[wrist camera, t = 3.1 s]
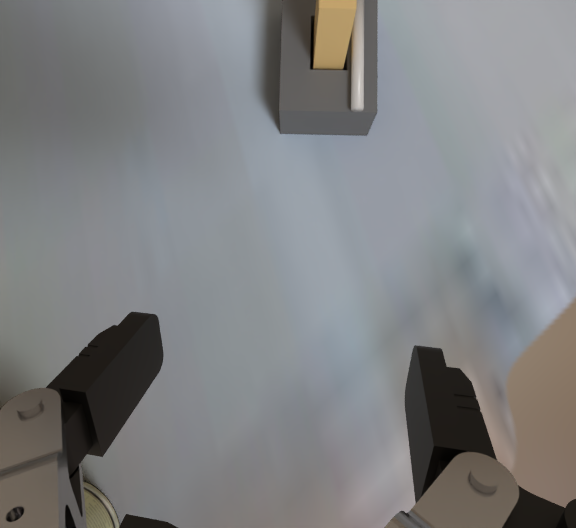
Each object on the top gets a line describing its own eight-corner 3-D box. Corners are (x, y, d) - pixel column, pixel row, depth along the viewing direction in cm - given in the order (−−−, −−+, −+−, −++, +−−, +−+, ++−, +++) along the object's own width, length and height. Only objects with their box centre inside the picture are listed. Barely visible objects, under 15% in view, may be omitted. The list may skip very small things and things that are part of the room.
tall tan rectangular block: (339, 88, 37) (356, 8, 28) (311, 87, 38) (319, 7, 28) (339, 46, 38) (356, -46, 28) (312, 46, 38) (320, -47, 28)
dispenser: (366, 135, 38) (379, 106, 33) (280, 133, 38) (278, 104, 33) (367, 14, 39) (380, -33, 34) (283, 13, 39) (282, -35, 34)
